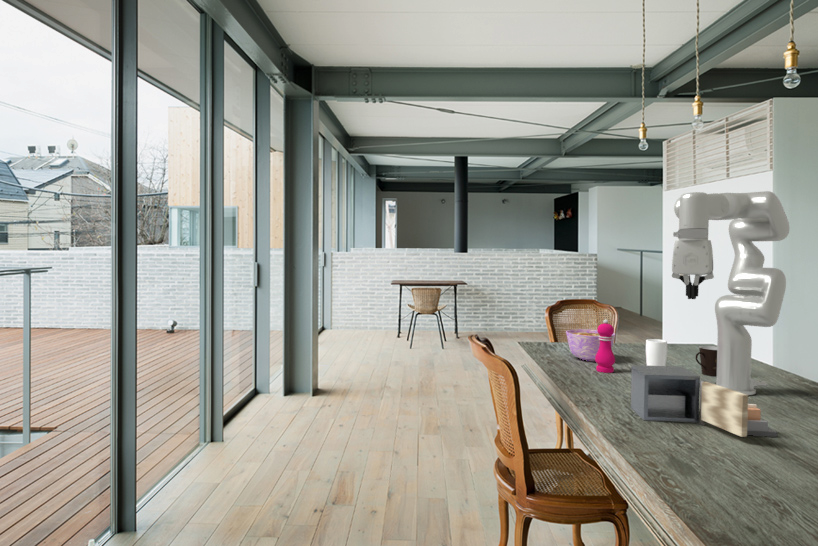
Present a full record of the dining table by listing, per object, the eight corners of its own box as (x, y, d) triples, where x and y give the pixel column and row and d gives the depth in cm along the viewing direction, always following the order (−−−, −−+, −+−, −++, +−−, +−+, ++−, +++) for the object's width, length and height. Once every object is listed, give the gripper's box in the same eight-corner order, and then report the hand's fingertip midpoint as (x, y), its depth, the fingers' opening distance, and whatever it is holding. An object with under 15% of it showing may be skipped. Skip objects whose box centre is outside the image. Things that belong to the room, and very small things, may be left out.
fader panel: (740, 414, 146) (740, 401, 146) (776, 437, 128) (777, 422, 128) (705, 413, 147) (706, 400, 147) (737, 435, 129) (737, 421, 129)
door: (697, 424, 138) (698, 381, 137) (702, 423, 138) (703, 380, 137) (741, 443, 124) (742, 395, 123) (746, 442, 124) (748, 395, 124)
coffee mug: (718, 372, 198) (718, 346, 198) (729, 377, 190) (730, 350, 189) (686, 371, 199) (686, 345, 199) (696, 376, 191) (696, 349, 191)
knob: (752, 422, 134) (753, 402, 134) (760, 427, 130) (760, 406, 130) (737, 421, 134) (738, 402, 134) (744, 426, 131) (745, 406, 131)
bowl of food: (576, 353, 235) (576, 327, 235) (621, 358, 223) (621, 332, 222) (557, 360, 220) (558, 332, 220) (605, 366, 207) (606, 337, 207)
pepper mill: (617, 373, 196) (618, 320, 195) (598, 373, 196) (599, 320, 195) (610, 369, 203) (611, 318, 202) (592, 368, 203) (593, 318, 202)
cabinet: (681, 409, 151) (682, 366, 150) (698, 422, 139) (699, 376, 138) (630, 407, 152) (631, 365, 152) (643, 420, 140) (644, 374, 140)
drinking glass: (644, 384, 179) (645, 341, 179) (645, 380, 185) (646, 338, 185) (666, 386, 176) (667, 342, 176) (666, 382, 182) (667, 339, 182)
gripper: (662, 235, 152) (660, 298, 153) (720, 234, 143) (719, 301, 143) (668, 236, 158) (667, 296, 159) (725, 235, 148) (723, 299, 149)
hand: (691, 298), depth 151 cm, fingers closed
